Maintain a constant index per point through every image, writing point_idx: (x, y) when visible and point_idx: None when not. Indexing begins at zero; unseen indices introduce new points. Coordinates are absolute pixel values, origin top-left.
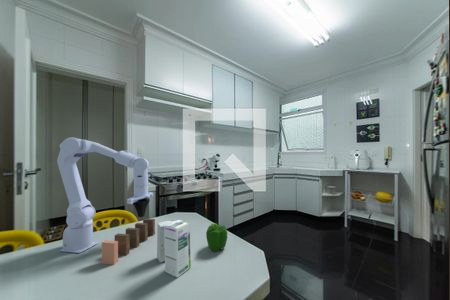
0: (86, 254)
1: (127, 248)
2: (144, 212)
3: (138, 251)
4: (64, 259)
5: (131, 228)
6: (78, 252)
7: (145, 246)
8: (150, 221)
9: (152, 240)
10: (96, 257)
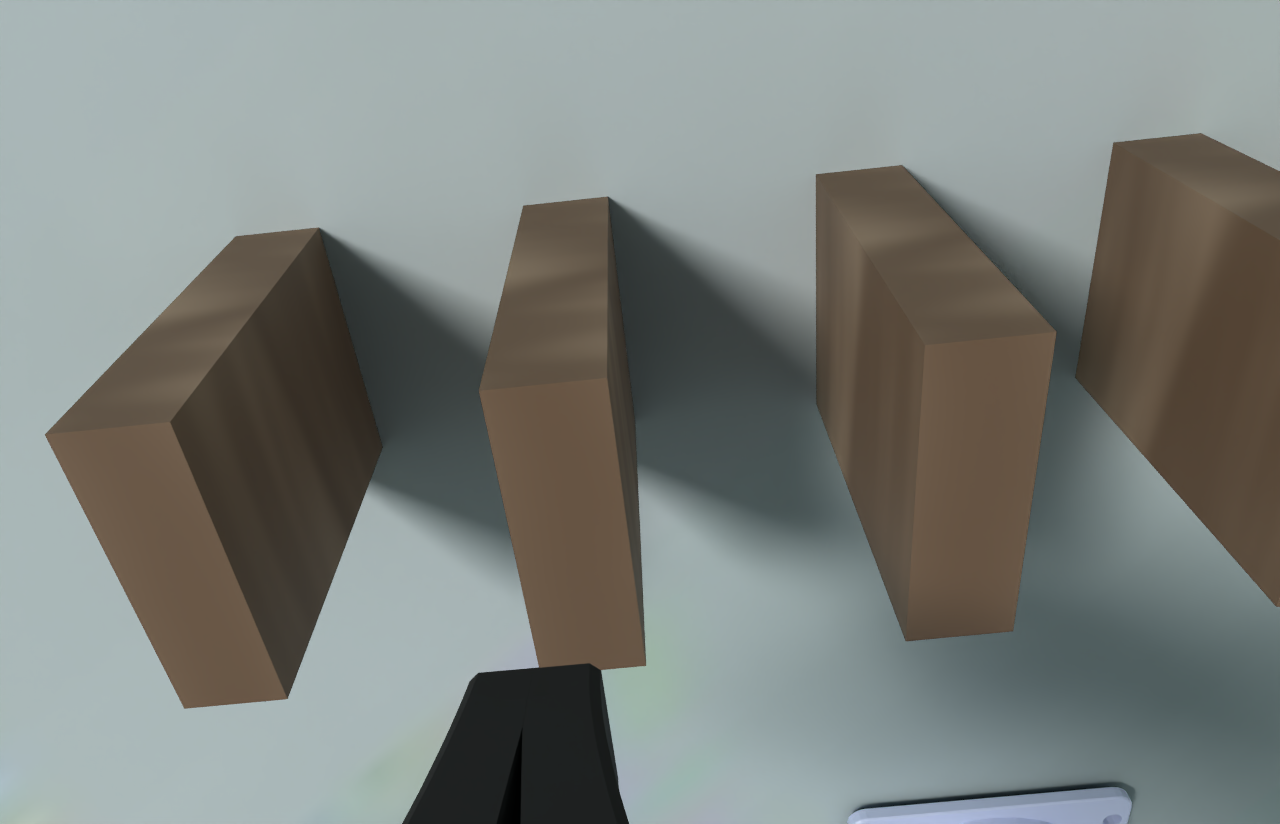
0: (1142, 705)
1: (1242, 172)
2: (474, 785)
3: (1040, 3)
4: (1250, 804)
5: (948, 542)
6: (1127, 804)
7: (816, 10)
8: (218, 472)
9: (520, 57)
10: None
